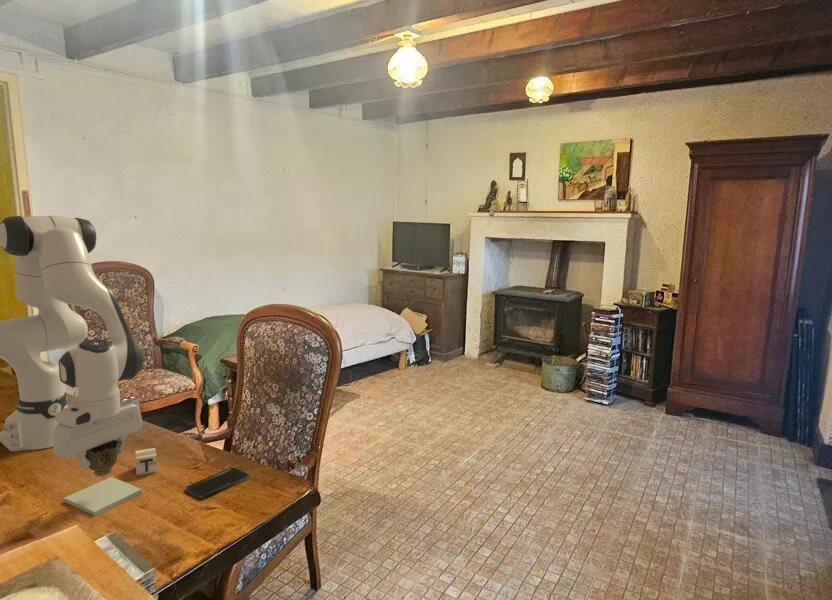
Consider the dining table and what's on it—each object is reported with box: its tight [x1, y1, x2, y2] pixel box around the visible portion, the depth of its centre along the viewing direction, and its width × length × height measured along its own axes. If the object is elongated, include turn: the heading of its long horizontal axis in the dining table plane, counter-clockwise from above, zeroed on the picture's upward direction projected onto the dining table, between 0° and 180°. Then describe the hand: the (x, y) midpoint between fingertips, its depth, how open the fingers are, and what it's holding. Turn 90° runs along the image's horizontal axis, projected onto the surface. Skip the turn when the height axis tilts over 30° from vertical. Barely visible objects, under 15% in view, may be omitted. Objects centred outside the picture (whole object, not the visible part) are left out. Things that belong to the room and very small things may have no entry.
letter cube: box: [135, 447, 158, 476], centre depth 142 cm, size 5×5×5 cm
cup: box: [84, 439, 119, 477], centre depth 126 cm, size 8×7×8 cm
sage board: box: [63, 476, 142, 517], centre depth 128 cm, size 12×12×1 cm
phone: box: [185, 466, 250, 501], centre depth 137 cm, size 8×1×15 cm
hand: (102, 459), depth 127 cm, fingers closed on cup, 6 cm apart
